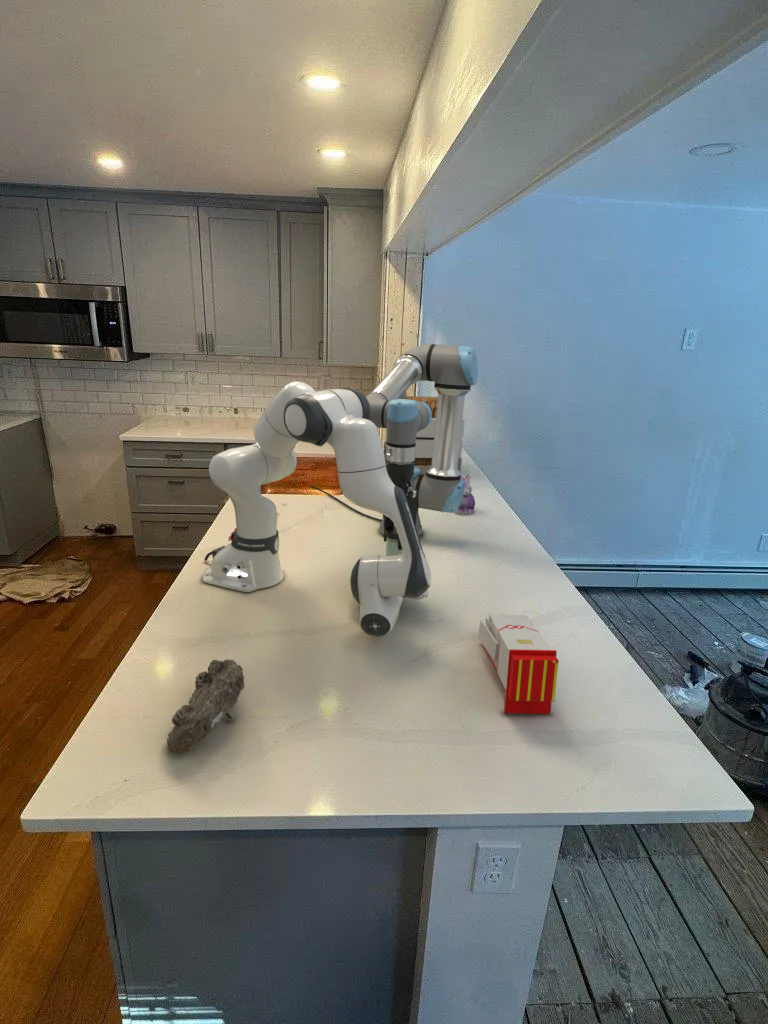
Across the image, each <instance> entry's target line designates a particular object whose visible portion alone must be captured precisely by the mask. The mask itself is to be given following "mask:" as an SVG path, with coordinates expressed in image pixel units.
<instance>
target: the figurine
mask: <svg viewBox="0 0 768 1024" xmlns="http://www.w3.org/2000/svg"><path fill="white" fill-rule="evenodd" d="M461 479H463V480H464V481H465V490H464V494H463V498H462V501H461V503H460V506H459V508H458V509H457V510H456V511H455V513H456V514H458V515H470V514H472V513H474V511H475V507H476V500H475V497H474V495H473V494H472V492H473V488H472V485H471V483H470V481H471V474H470V473H468V474H467V475H466V476H465V478H464V476H463V475H462V474H461Z"/></svg>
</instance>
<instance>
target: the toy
mask: <svg viewBox="0 0 768 1024" xmlns="http://www.w3.org/2000/svg"><path fill="white" fill-rule="evenodd" d="M477 635H478V637H477V638H478V639H479V641H480V643H481V645H482V647H483V649H484V651H485V652H486V654H487V655H488V658H489V659H490V661H491V663H492V665H493V667H494V669H495V671H496V672H497V675H498V677H499V679H500V682H501V684H502V685H503V688H504V690H505V699H504V709H503V712H504V714H522V715H523V714H528V715H535V714H536V715H540V714H541V715H551V710H552V702H555V700H556V699H555V698H556V688H557V679H558V672H559V671H558V669H559V661H560V660H559V659H558V658H557V649H551V648H550V646H549V645H548V643H547V642H546V640H545V639H544V638H543V636H542V635H541V634H540V632H539V630H538V629H536V626H535V624H533V622H532V619H530V618H529V617H528V615H527V614H501V613H500V614H495V613H493V614H492V613H489V614H488V616H486V617H485V622H484V620H483V619H480V620H479V628H478V634H477Z"/></svg>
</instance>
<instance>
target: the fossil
mask: <svg viewBox="0 0 768 1024" xmlns="http://www.w3.org/2000/svg"><path fill="white" fill-rule="evenodd" d="M243 670H244V669H243V667H242V665H240V664H237V662H236V661H235V660H234V659H232V658H231V659H227V658H226V659H224V660H223V661H222V660H217V659H212V660H211V661H210V663H209V665H208V666H207V671H201V672H199V673H198V674H197V675H196V676H195V680H194V684H195V685H194V687H195V689H194V690H193V693H192V694H191V697H190V698H189V700H188V704H184V705H182V706H181V707H180V709H177V710H176V711H175V713H174V715H173V716H172V718H171V723H172V724H173V727H172V730H171V731H170V732H168V734H167V738H166V741H167V742H166V745H167V749H168V750H169V751H173V752H174V753H176V754H178V753H182V752H188V751H189V752H192V751H193V750H195V748H196V747H197V746H199V744H200V743H201V742H203V741H204V740H205V739H206V738H207V737H208V736H209V735H210V734H211V733H212V732H214V730H215V729H217V727H218V726H219V724H220V722H221V721H222V720H223V719H224V718H225V716H226V717H227V719H229V720H233V717H232V715H230V714H229V710H230V709H231V708H234V706H235V704H236V703H237V702H238V699H239V697H240V695H241V693H242V691H243V690H245V689H244V688H245V675H244V671H243Z"/></svg>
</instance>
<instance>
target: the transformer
mask: <svg viewBox="0 0 768 1024" xmlns="http://www.w3.org/2000/svg"><path fill="white" fill-rule="evenodd" d="M407 394H408V393H407V391H406V392H405V393H404V394H403V395H402V396H401V398H400V399H409V400H414V401H421V402H424V403H426V404H427V405H428V406H429V407H430V409H431V412H432V419H431V421H430V423H429V424H428V425H427V427H426V428H424V429H422V430H420V431H418V432H417V434H416V451H415V461H413V462H414V464H415V465H414V467H417V466H418V467H431V466H432V455H433V444H434V434H435V423H436V413H437V402H438V396H415V395H414V396H413V395H412V396H411V395H407ZM464 429H465V419H464V418H462V427H461V436H460V446H459V455H458V464H457V469H458V470H459V472H460V473H461V472H462V461H463V460H462V453H463V442H464V441H463V440H462V439H463V438H464V431H465V430H464ZM386 441H387V428H385V438H384V442H383V451H384V456H385V462H386V461H387V459H386ZM461 474H462V473H461Z"/></svg>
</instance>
